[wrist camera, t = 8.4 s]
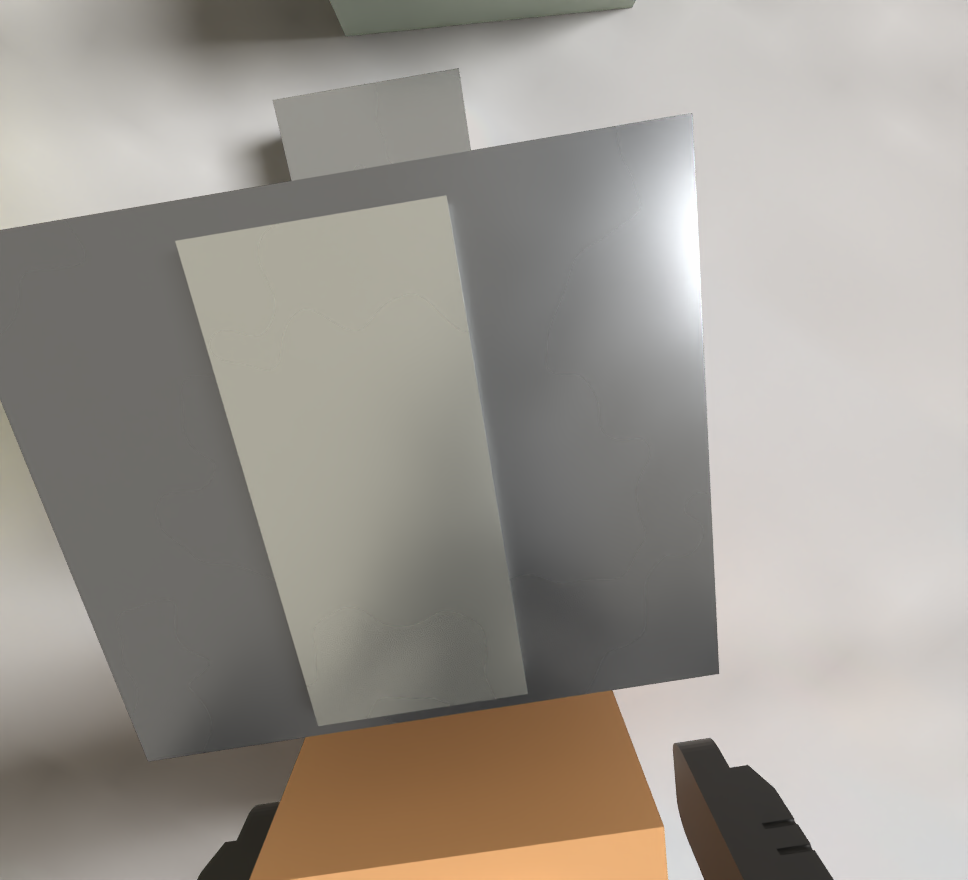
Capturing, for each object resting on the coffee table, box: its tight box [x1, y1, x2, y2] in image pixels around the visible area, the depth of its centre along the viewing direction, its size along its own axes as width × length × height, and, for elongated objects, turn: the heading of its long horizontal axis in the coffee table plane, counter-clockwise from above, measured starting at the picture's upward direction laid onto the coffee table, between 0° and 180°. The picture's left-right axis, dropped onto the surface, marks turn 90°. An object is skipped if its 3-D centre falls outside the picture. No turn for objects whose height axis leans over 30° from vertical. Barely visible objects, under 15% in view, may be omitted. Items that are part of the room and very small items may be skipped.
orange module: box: [249, 690, 668, 880], centre depth 9 cm, size 7×5×6 cm
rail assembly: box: [0, 68, 719, 761], centre depth 10 cm, size 26×7×7 cm, turn 9°
